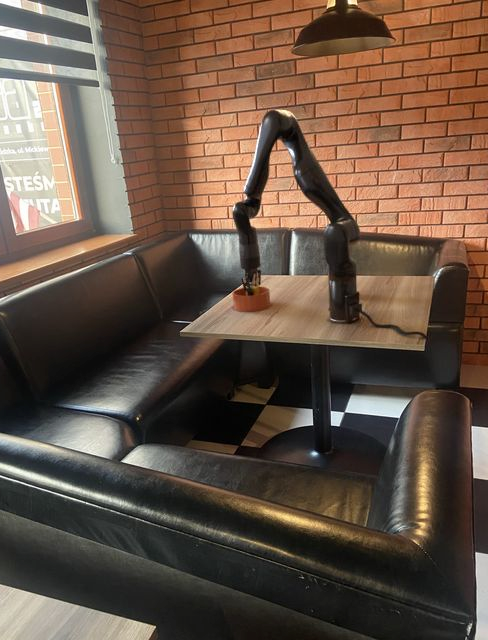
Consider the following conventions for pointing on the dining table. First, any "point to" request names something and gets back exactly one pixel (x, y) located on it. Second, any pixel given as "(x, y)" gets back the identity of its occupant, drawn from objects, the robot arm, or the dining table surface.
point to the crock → (251, 300)
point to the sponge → (255, 290)
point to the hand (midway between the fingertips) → (253, 299)
